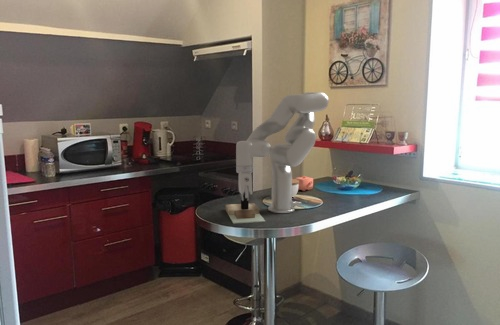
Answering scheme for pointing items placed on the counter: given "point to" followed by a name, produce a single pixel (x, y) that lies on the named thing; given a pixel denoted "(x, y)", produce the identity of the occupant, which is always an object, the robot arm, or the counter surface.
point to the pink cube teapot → (305, 183)
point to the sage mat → (247, 219)
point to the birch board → (237, 207)
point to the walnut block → (244, 214)
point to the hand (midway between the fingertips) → (244, 208)
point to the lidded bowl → (295, 187)
